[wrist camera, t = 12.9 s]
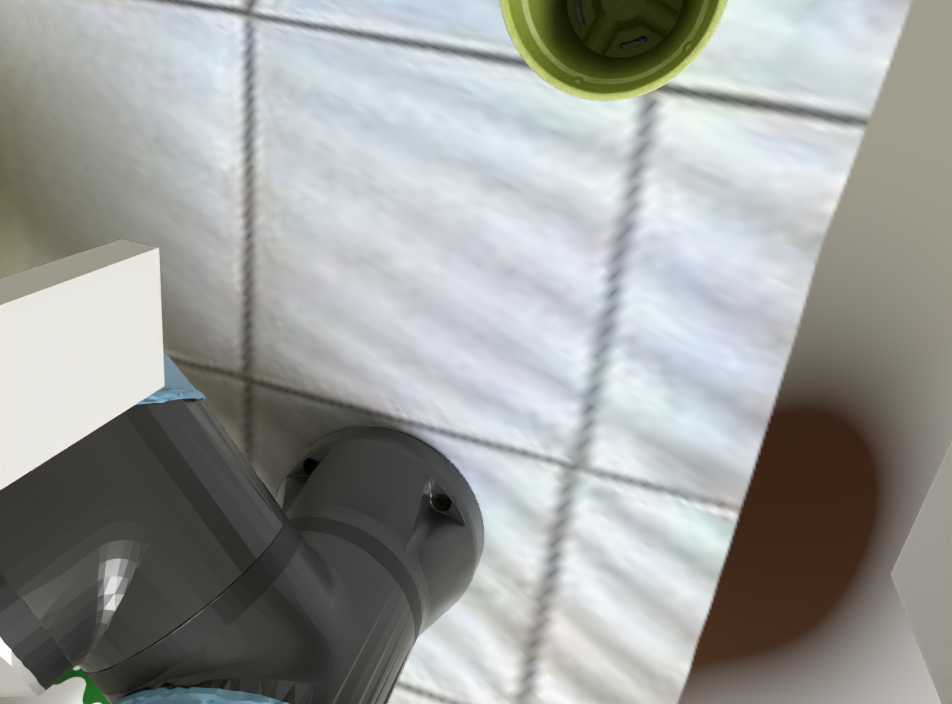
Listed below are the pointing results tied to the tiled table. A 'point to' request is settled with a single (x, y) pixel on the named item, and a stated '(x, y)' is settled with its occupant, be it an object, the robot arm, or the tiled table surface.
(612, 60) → the plant pot
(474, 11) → the tiled table surface
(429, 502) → the robot arm
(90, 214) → the tiled table surface
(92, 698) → the milk carton
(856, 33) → the tiled table surface
